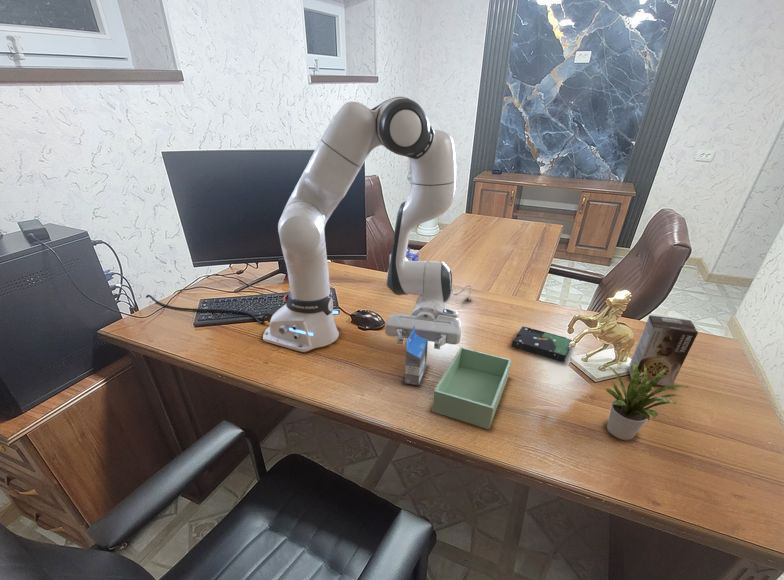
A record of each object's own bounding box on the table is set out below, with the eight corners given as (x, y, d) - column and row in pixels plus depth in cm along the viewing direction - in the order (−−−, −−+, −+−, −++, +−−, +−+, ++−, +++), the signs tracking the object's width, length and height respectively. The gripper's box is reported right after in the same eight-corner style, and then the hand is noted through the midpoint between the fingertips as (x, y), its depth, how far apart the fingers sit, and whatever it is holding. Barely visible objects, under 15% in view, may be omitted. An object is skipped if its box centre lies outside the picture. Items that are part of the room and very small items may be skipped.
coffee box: (665, 373, 103) (691, 319, 94) (671, 388, 97) (700, 332, 89) (626, 366, 105) (649, 313, 96) (631, 380, 100) (655, 326, 91)
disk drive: (510, 349, 113) (564, 364, 106) (512, 340, 111) (567, 355, 104) (520, 333, 120) (571, 346, 113) (522, 325, 118) (574, 338, 112)
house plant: (680, 454, 79) (719, 392, 70) (622, 465, 77) (653, 402, 68) (630, 408, 91) (657, 350, 82) (577, 416, 88) (599, 357, 80)
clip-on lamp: (473, 302, 144) (430, 283, 149) (479, 287, 141) (435, 267, 145) (463, 312, 135) (418, 291, 140) (470, 296, 131) (423, 275, 136)
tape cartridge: (419, 386, 97) (421, 345, 91) (404, 383, 98) (405, 342, 92) (426, 366, 105) (429, 326, 98) (412, 364, 106) (414, 324, 99)
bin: (489, 429, 85) (493, 408, 82) (432, 411, 90) (434, 390, 86) (507, 379, 100) (511, 359, 97) (458, 365, 105) (460, 346, 102)
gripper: (390, 304, 110) (378, 328, 99) (464, 312, 106) (459, 338, 95) (390, 324, 113) (378, 349, 102) (461, 332, 109) (457, 360, 98)
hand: (418, 344), depth 98 cm, fingers open, 8 cm apart
